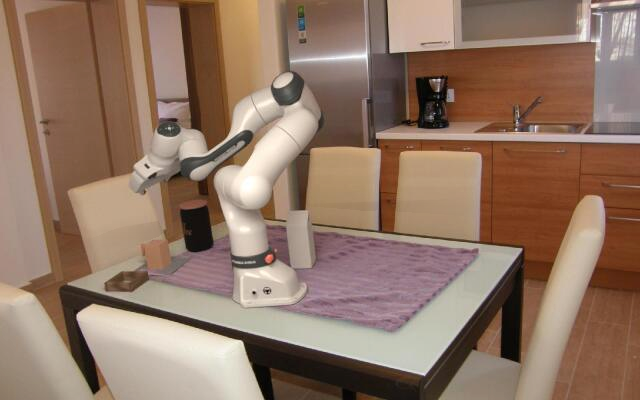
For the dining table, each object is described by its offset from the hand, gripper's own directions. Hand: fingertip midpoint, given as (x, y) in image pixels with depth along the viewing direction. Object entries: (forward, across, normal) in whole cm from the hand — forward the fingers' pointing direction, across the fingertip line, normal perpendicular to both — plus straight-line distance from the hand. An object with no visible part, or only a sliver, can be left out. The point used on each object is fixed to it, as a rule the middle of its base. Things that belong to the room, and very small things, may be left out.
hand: (153, 188), depth 202 cm
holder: (+16, +23, +20) cm, 34 cm away
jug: (+21, +8, +17) cm, 28 cm away
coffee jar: (+25, -12, +19) cm, 34 cm away
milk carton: (-9, -15, +57) cm, 59 cm away
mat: (+20, +8, +19) cm, 29 cm away
